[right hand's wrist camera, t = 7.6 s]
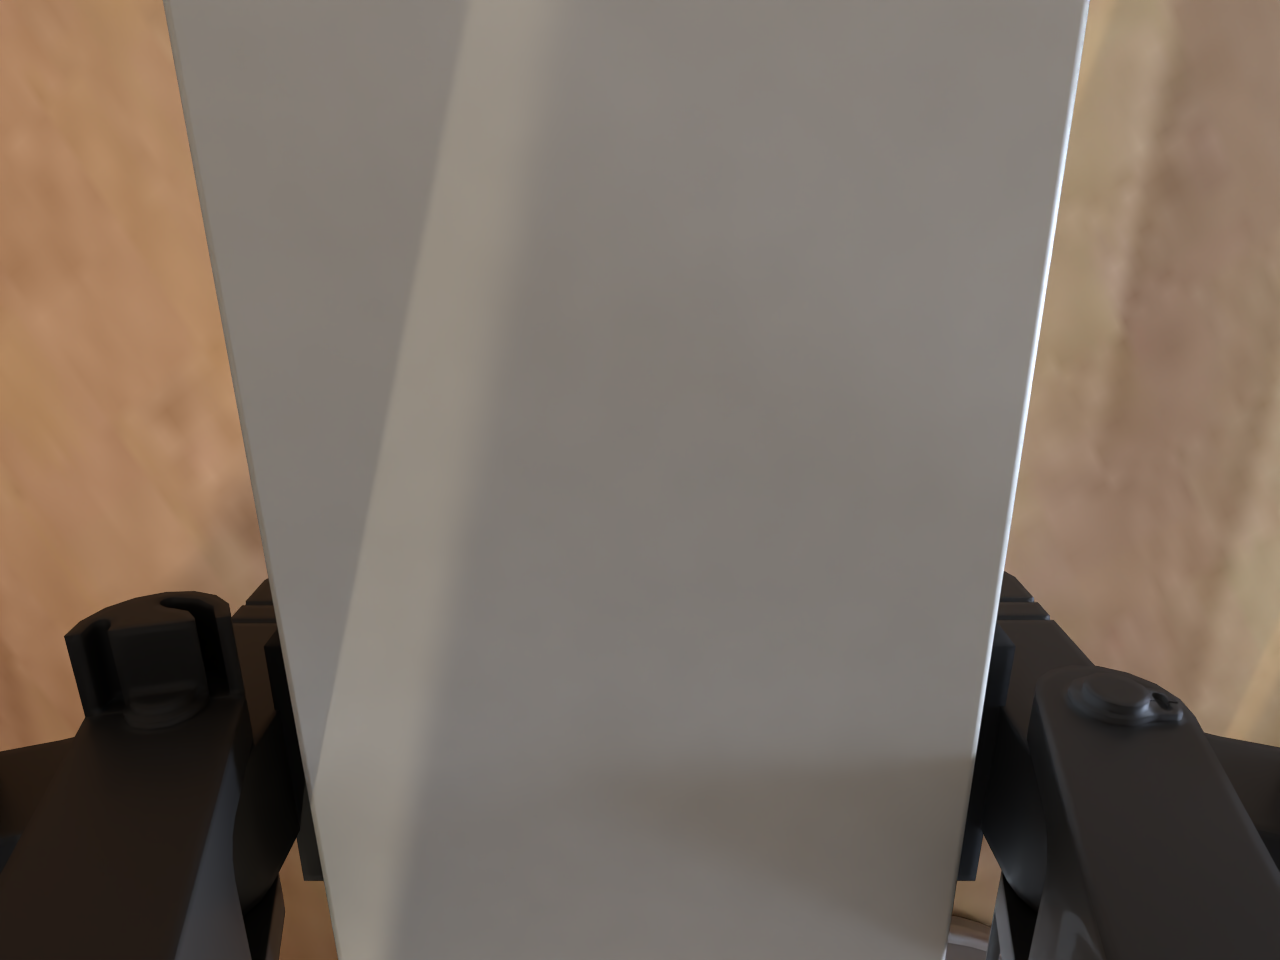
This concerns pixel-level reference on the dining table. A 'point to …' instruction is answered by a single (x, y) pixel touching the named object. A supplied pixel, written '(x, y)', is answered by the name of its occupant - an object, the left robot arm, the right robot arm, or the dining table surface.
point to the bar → (633, 446)
